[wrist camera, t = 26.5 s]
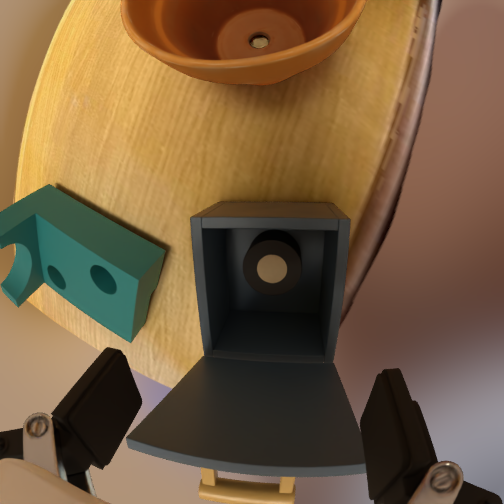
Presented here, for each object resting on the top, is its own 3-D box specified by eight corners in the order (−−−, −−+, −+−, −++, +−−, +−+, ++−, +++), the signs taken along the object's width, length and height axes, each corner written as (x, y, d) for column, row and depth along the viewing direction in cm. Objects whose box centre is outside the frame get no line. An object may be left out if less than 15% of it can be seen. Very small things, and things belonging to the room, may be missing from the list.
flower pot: (284, 143, 23) (279, 119, 11) (162, 75, 23) (80, 31, 10) (362, 36, 19) (405, -37, 7) (240, -21, 18) (211, -97, 6)
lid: (125, 437, 9) (144, 502, 9) (372, 462, 8) (345, 525, 8) (202, 355, 22) (204, 408, 22) (334, 362, 20) (326, 416, 20)
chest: (218, 201, 26) (189, 217, 18) (333, 203, 24) (350, 219, 17) (224, 311, 29) (204, 356, 22) (324, 315, 28) (333, 363, 21)
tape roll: (248, 229, 25) (241, 239, 22) (301, 230, 25) (303, 240, 21) (249, 278, 27) (243, 295, 23) (299, 279, 26) (300, 297, 23)
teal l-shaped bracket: (51, 249, 32) (3, 292, 24) (49, 183, 26) (-16, 222, 18) (150, 314, 33) (107, 377, 24) (165, 250, 27) (103, 322, 18)
